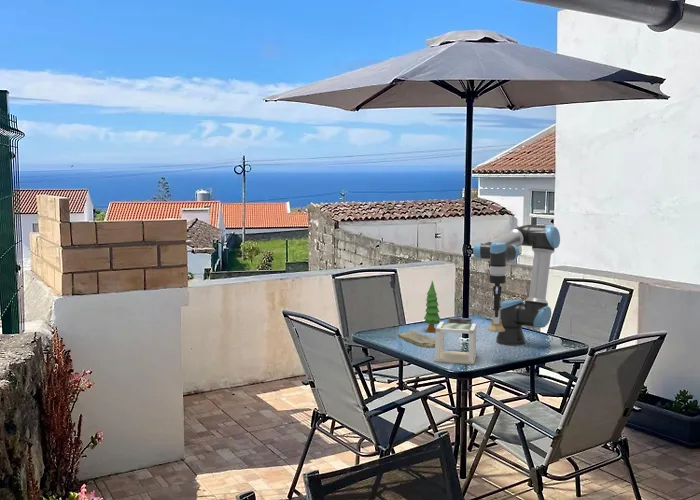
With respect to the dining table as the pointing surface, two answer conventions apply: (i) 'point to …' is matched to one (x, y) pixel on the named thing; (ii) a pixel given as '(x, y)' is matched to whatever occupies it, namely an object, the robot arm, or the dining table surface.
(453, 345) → the dining table surface
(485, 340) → the dining table surface
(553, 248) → the robot arm
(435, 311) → the decorative tree
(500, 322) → the hand bell
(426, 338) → the stone slab
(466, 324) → the trapdoor
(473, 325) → the frame
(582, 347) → the dining table surface
